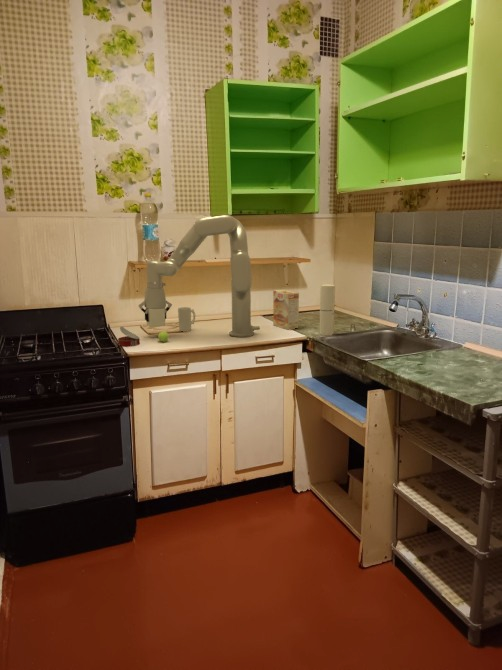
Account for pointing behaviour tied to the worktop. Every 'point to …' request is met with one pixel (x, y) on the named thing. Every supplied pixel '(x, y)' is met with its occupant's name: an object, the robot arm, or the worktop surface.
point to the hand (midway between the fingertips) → (155, 320)
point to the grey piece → (156, 317)
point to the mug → (185, 318)
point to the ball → (163, 336)
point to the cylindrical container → (327, 309)
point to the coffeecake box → (285, 309)
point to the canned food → (128, 338)
